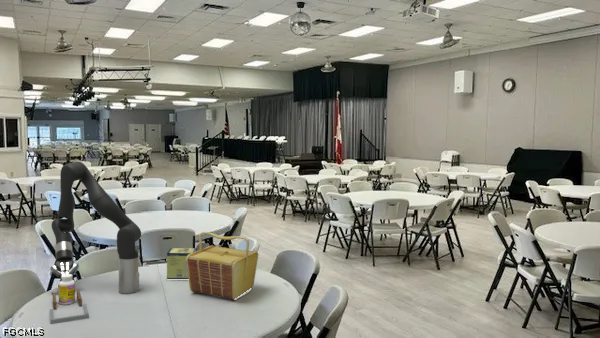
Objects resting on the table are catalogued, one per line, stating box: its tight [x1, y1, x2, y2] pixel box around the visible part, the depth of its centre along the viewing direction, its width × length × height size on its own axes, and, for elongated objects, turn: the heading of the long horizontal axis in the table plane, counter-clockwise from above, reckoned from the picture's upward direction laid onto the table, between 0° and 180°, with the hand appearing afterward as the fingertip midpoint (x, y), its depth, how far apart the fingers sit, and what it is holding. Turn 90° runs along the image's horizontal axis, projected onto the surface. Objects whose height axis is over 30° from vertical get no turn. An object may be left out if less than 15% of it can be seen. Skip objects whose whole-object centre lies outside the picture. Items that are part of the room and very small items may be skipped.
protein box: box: [166, 247, 198, 280], centre depth 254 cm, size 10×16×16 cm
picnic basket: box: [186, 231, 259, 300], centre depth 233 cm, size 29×26×30 cm
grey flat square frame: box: [49, 304, 90, 325], centre depth 198 cm, size 14×13×2 cm
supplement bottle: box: [58, 273, 76, 306], centre depth 212 cm, size 7×7×13 cm
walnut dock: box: [52, 289, 83, 311], centre depth 212 cm, size 11×13×4 cm
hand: (65, 283), depth 221 cm, fingers closed
